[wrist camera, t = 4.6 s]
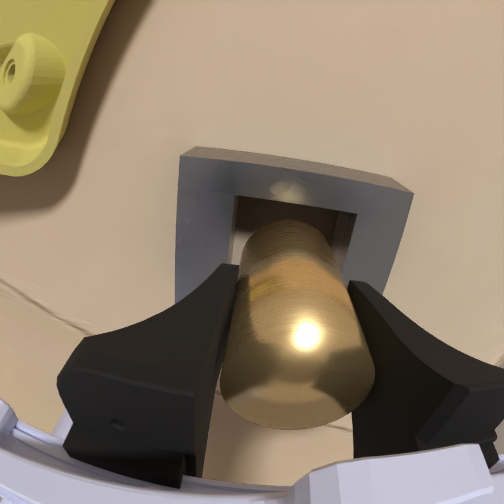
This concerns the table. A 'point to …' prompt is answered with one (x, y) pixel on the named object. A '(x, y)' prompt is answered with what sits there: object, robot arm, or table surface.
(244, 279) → the gold metal cylinder
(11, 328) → the table surface
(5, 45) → the plastic component
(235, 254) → the table surface
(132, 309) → the table surface
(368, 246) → the frame
